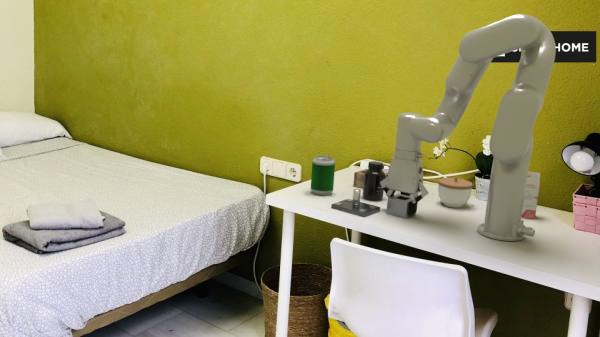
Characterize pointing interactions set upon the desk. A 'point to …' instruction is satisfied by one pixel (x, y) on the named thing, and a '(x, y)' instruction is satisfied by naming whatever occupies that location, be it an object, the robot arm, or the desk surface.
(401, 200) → the block
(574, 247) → the desk surface
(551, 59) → the robot arm
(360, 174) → the organizer frame
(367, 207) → the stand
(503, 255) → the desk surface
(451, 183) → the lidded jar
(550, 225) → the desk surface
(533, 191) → the ink cartridge box
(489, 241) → the desk surface
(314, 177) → the soda can
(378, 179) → the supplement bottle
